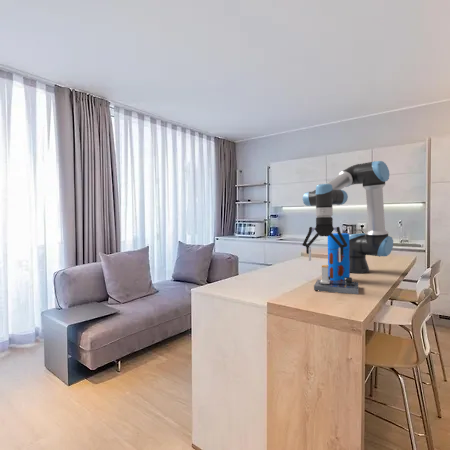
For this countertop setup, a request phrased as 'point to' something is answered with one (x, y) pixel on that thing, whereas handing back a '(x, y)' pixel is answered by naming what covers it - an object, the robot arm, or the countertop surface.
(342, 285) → the console
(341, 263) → the thermos
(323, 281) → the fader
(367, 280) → the countertop surface
